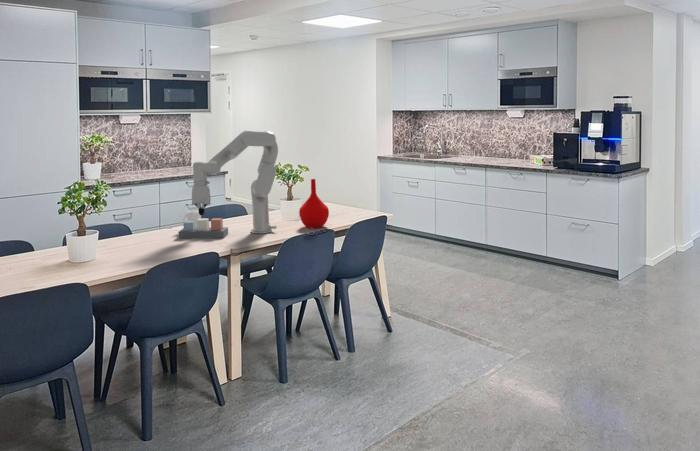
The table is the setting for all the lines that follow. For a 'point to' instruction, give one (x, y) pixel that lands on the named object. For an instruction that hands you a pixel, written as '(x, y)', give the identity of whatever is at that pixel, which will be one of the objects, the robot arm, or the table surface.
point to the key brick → (216, 224)
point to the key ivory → (203, 224)
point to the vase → (314, 210)
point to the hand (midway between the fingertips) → (201, 214)
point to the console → (203, 233)
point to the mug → (193, 216)
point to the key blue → (189, 225)
